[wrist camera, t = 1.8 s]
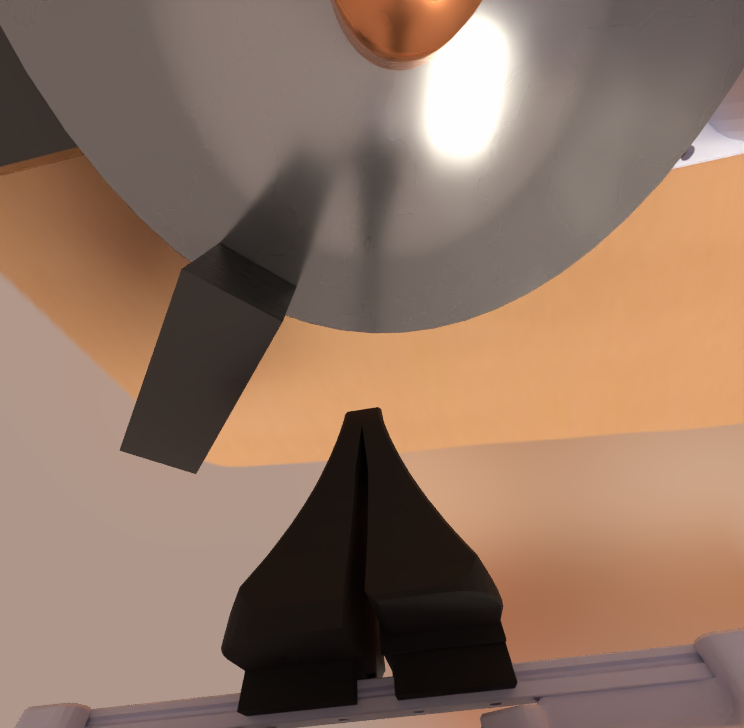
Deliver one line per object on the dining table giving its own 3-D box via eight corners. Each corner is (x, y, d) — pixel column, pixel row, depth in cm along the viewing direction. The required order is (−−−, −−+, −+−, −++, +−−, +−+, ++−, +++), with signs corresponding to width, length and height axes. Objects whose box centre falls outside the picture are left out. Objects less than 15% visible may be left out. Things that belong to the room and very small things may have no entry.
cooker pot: (706, -608, 6) (1397, -2095, 2) (570, 232, 15) (650, 264, 11) (-234, -251, 8) (-897, -700, 4) (149, 320, 17) (83, 376, 13)
